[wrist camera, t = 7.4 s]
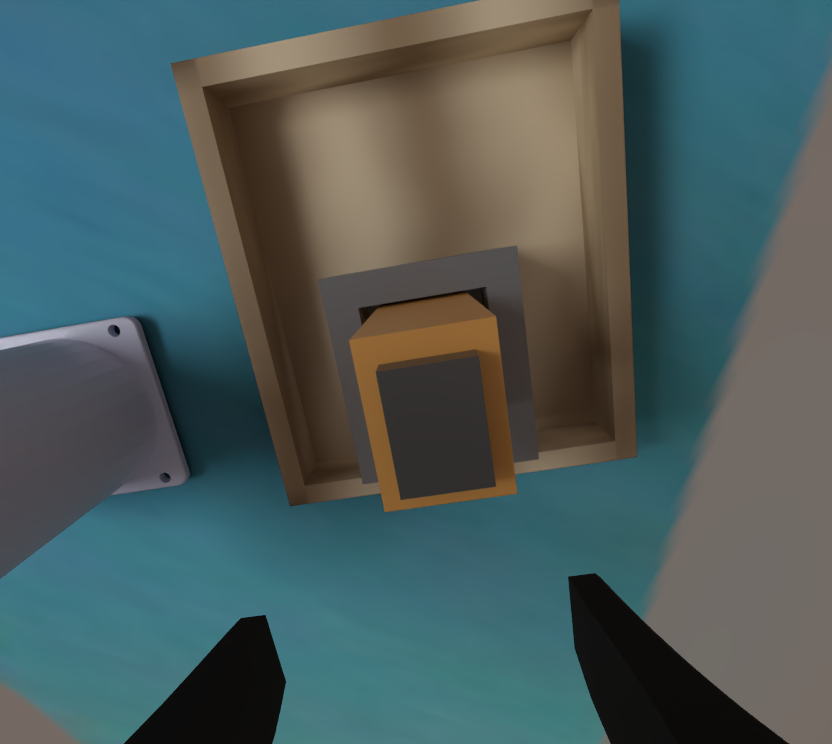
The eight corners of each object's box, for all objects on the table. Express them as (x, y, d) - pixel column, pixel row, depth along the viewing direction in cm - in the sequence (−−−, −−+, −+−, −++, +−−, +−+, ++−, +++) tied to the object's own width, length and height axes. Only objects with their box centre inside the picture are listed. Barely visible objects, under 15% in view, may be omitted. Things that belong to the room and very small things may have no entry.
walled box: (308, 471, 21) (290, 506, 18) (214, 97, 17) (170, 63, 14) (605, 427, 20) (637, 456, 17) (582, 24, 16) (617, -29, 13)
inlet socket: (373, 444, 19) (362, 484, 16) (338, 275, 17) (317, 279, 14) (518, 422, 19) (538, 459, 15) (498, 247, 17) (517, 245, 14)
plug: (400, 407, 17) (382, 527, 9) (381, 304, 16) (343, 346, 8) (478, 396, 16) (523, 508, 9) (463, 290, 15) (501, 320, 8)
